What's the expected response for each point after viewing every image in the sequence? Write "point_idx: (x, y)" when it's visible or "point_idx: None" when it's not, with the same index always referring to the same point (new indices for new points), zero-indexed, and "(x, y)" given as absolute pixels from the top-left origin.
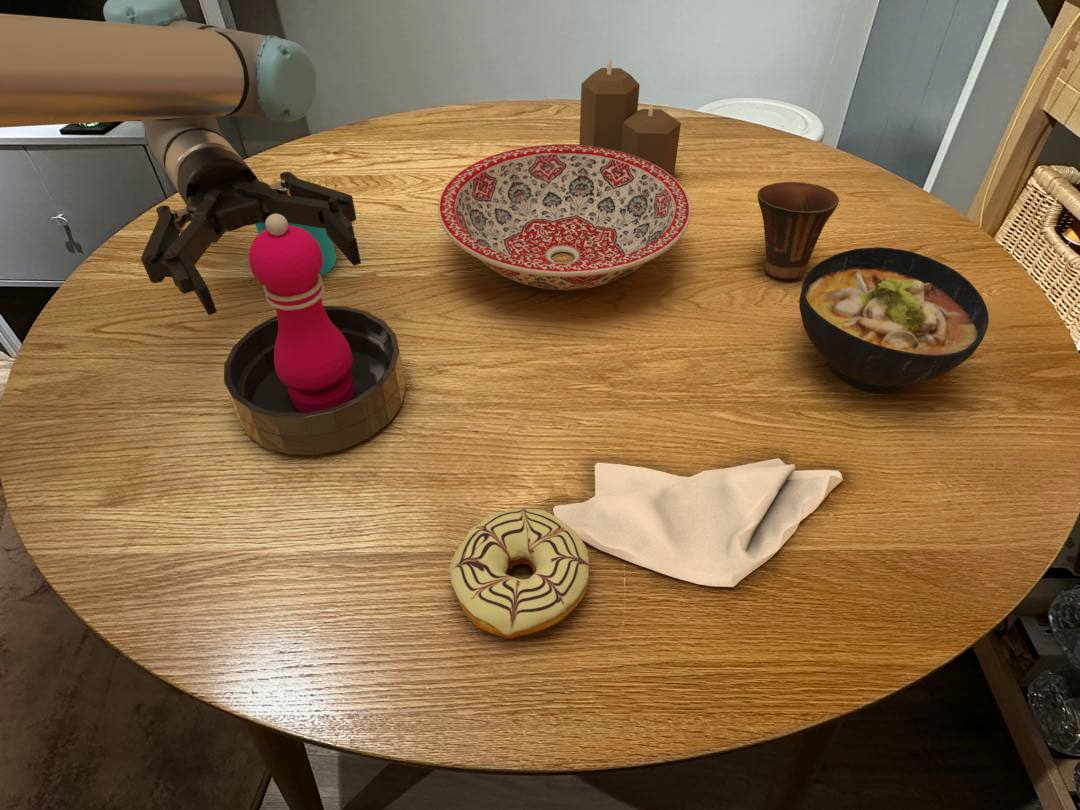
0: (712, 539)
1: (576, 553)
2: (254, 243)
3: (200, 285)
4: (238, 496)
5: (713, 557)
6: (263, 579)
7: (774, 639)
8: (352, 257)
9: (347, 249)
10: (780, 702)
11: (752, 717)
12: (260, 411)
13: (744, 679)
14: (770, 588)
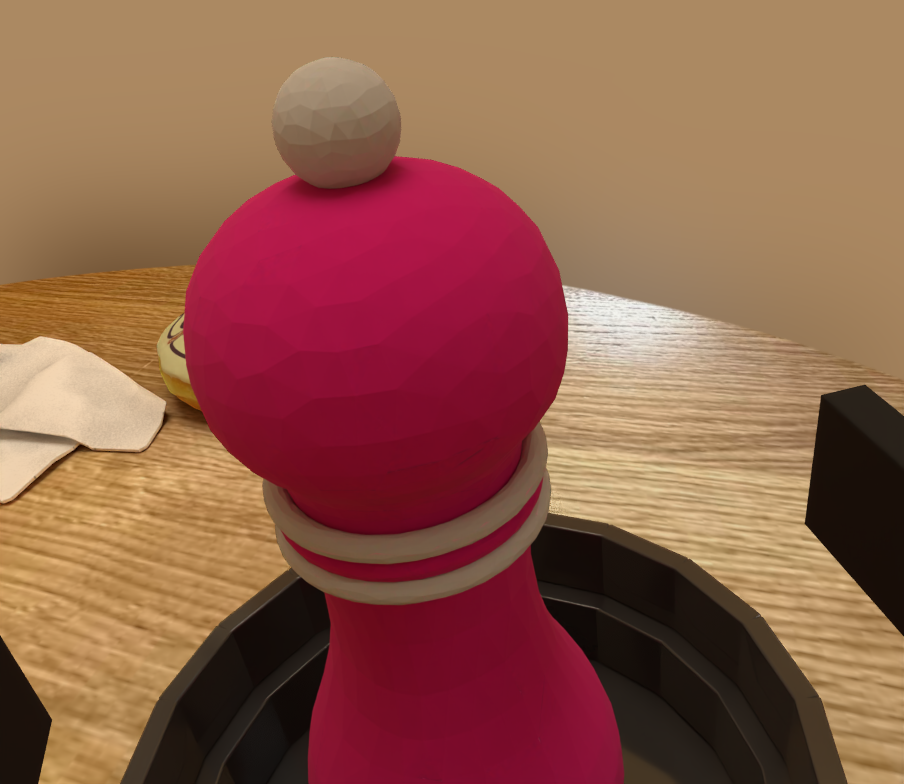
0: (2, 372)
1: (182, 316)
2: (498, 200)
3: (870, 408)
4: (738, 572)
5: (27, 356)
6: (654, 420)
7: (67, 311)
8: (26, 679)
9: (3, 715)
10: (121, 279)
11: (155, 273)
12: (654, 545)
13: (130, 291)
14: (10, 343)
